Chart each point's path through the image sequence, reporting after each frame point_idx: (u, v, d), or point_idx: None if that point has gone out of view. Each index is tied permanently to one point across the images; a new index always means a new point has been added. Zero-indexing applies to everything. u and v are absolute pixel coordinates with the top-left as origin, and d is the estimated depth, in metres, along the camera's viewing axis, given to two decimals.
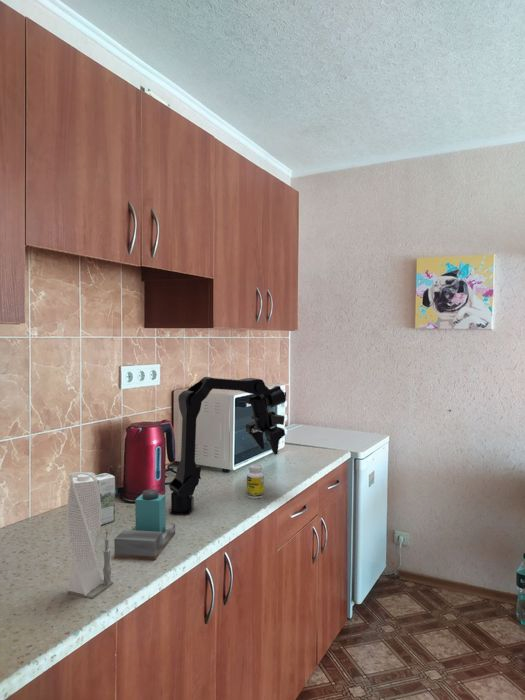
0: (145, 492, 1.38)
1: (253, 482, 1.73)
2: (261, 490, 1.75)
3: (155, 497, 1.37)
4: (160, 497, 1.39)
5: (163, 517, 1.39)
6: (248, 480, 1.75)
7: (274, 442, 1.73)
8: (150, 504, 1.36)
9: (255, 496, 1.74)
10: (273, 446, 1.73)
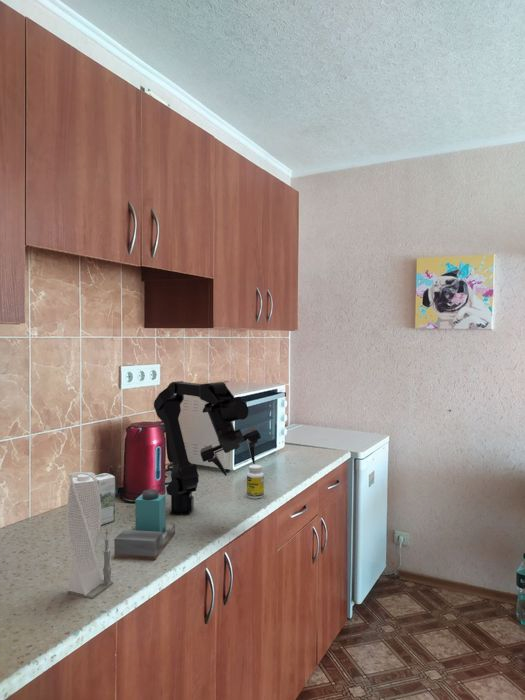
0: (145, 492, 1.38)
1: (253, 482, 1.73)
2: (261, 490, 1.75)
3: (155, 497, 1.37)
4: (160, 497, 1.39)
5: (163, 517, 1.39)
6: (248, 480, 1.75)
7: None
8: (150, 504, 1.36)
9: (255, 496, 1.74)
10: None
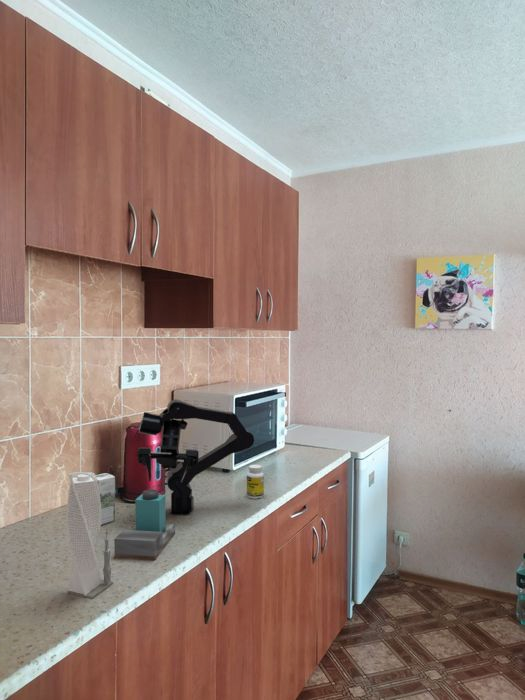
0: (145, 492, 1.38)
1: (253, 482, 1.73)
2: (261, 490, 1.75)
3: (155, 497, 1.37)
4: (160, 497, 1.39)
5: (163, 517, 1.39)
6: (248, 480, 1.75)
7: None
8: (150, 504, 1.36)
9: (255, 496, 1.74)
10: (185, 469, 1.50)
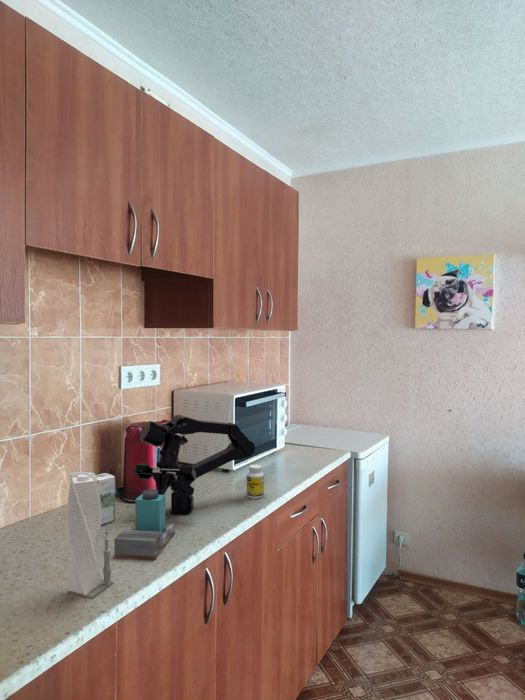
0: (145, 492, 1.38)
1: (253, 482, 1.73)
2: (261, 490, 1.75)
3: (155, 497, 1.37)
4: (160, 497, 1.39)
5: (163, 517, 1.39)
6: (248, 480, 1.75)
7: (166, 482, 1.51)
8: (150, 504, 1.36)
9: (255, 496, 1.74)
10: (165, 485, 1.49)
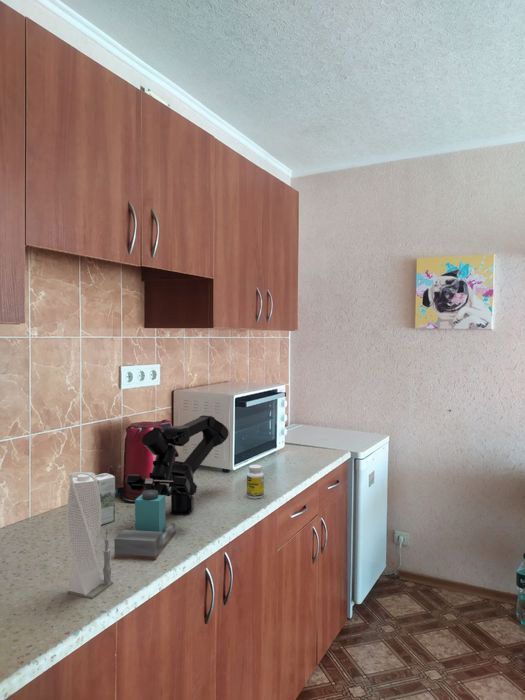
0: (145, 492, 1.38)
1: (253, 482, 1.73)
2: (261, 490, 1.75)
3: (155, 497, 1.37)
4: (159, 497, 1.38)
5: (163, 517, 1.39)
6: (248, 480, 1.75)
7: (159, 494, 1.44)
8: (150, 504, 1.36)
9: (255, 496, 1.74)
10: None
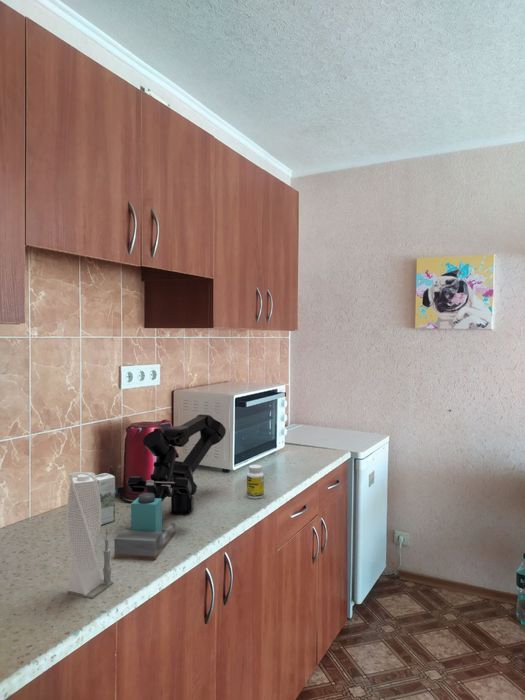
0: (141, 496, 1.35)
1: (253, 482, 1.73)
2: (261, 490, 1.75)
3: (151, 501, 1.34)
4: (156, 501, 1.36)
5: (159, 521, 1.36)
6: (248, 480, 1.75)
7: (161, 496, 1.44)
8: (146, 507, 1.33)
9: (255, 496, 1.74)
10: None
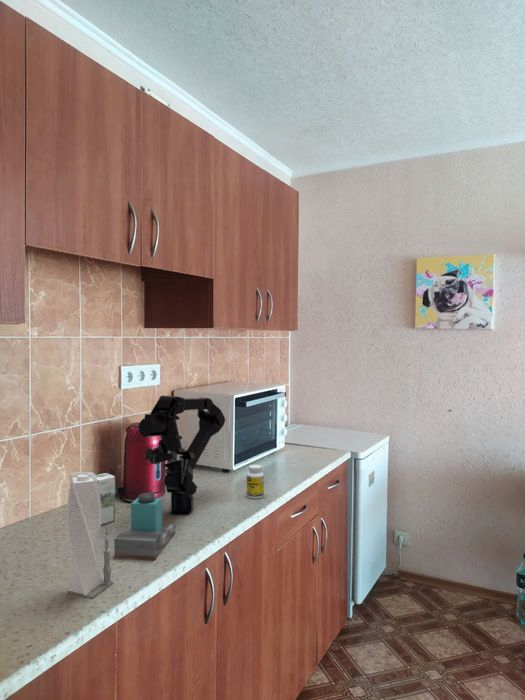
0: (141, 496, 1.35)
1: (253, 482, 1.73)
2: (261, 490, 1.75)
3: (151, 501, 1.34)
4: (156, 501, 1.36)
5: (159, 521, 1.36)
6: (248, 480, 1.75)
7: None
8: (146, 507, 1.33)
9: (255, 496, 1.74)
10: None
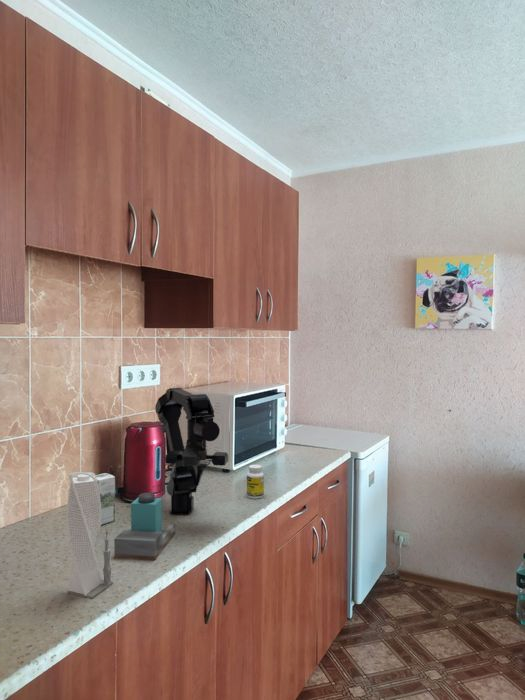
0: (141, 496, 1.35)
1: (253, 482, 1.73)
2: (261, 490, 1.75)
3: (151, 501, 1.34)
4: (156, 501, 1.36)
5: (159, 521, 1.36)
6: (248, 480, 1.75)
7: None
8: (146, 507, 1.33)
9: (255, 496, 1.74)
10: None
